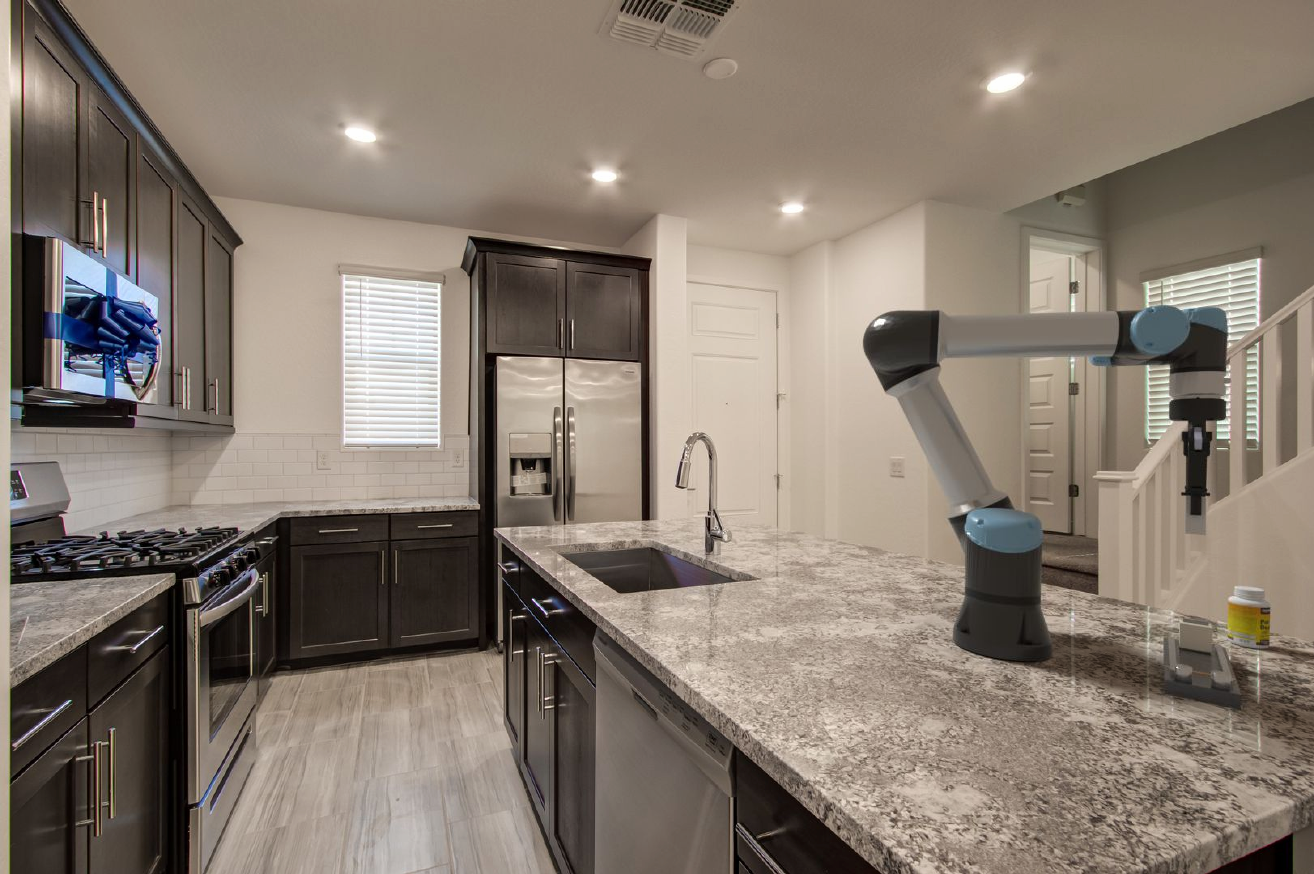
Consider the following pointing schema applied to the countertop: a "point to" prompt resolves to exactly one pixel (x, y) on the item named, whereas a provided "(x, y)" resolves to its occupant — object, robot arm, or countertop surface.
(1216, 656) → the console
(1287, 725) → the countertop surface
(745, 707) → the countertop surface
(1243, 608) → the supplement bottle
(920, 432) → the robot arm
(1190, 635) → the fader tab
